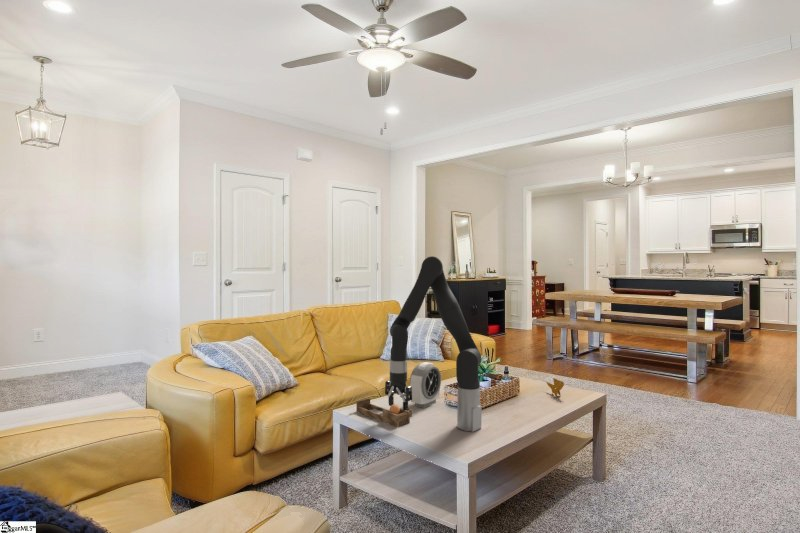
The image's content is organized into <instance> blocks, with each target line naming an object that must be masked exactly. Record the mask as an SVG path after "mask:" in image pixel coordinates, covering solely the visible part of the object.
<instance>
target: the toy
mask: <svg viewBox="0 0 800 533" xmlns="http://www.w3.org/2000/svg"><path fill="white" fill-rule="evenodd" d="M552 380H553V384H552V383H550V382H548V381H545V382H546V385H547V386H548V387H549V388H550V389H551V393H552V394H553V393H554V394H553V395H554V397H557V396H559V397H562V396H561V390H562V389H563V388H564V386H565V383H564V381H562V380H559V379H557V378H554V377H553V378H552Z"/></svg>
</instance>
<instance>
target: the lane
mask: <svg viewBox="0 0 800 533" xmlns="http://www.w3.org/2000/svg"><path fill="white" fill-rule="evenodd" d="M399 409H400V411H399V413H398V414H394V413H391V412H390V410H389V409H387V408H384V407H382V406H378V405H376V404H373V403H371V398H370V397H366V398H362V399H360V400H356V410H355V411H356V413H359V414H362V415H363V414H364V415H363V416H367V417H369V418H372V419H374V420H377V421H379V422H381V423H384V422H385V424H387V425H389V426H393V427H395V428H397V427H398V428H400V426H403V425H407V424H410V423H411V416H410V411H407V410H405V411H404V410H403V408H400V407H399Z"/></svg>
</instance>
